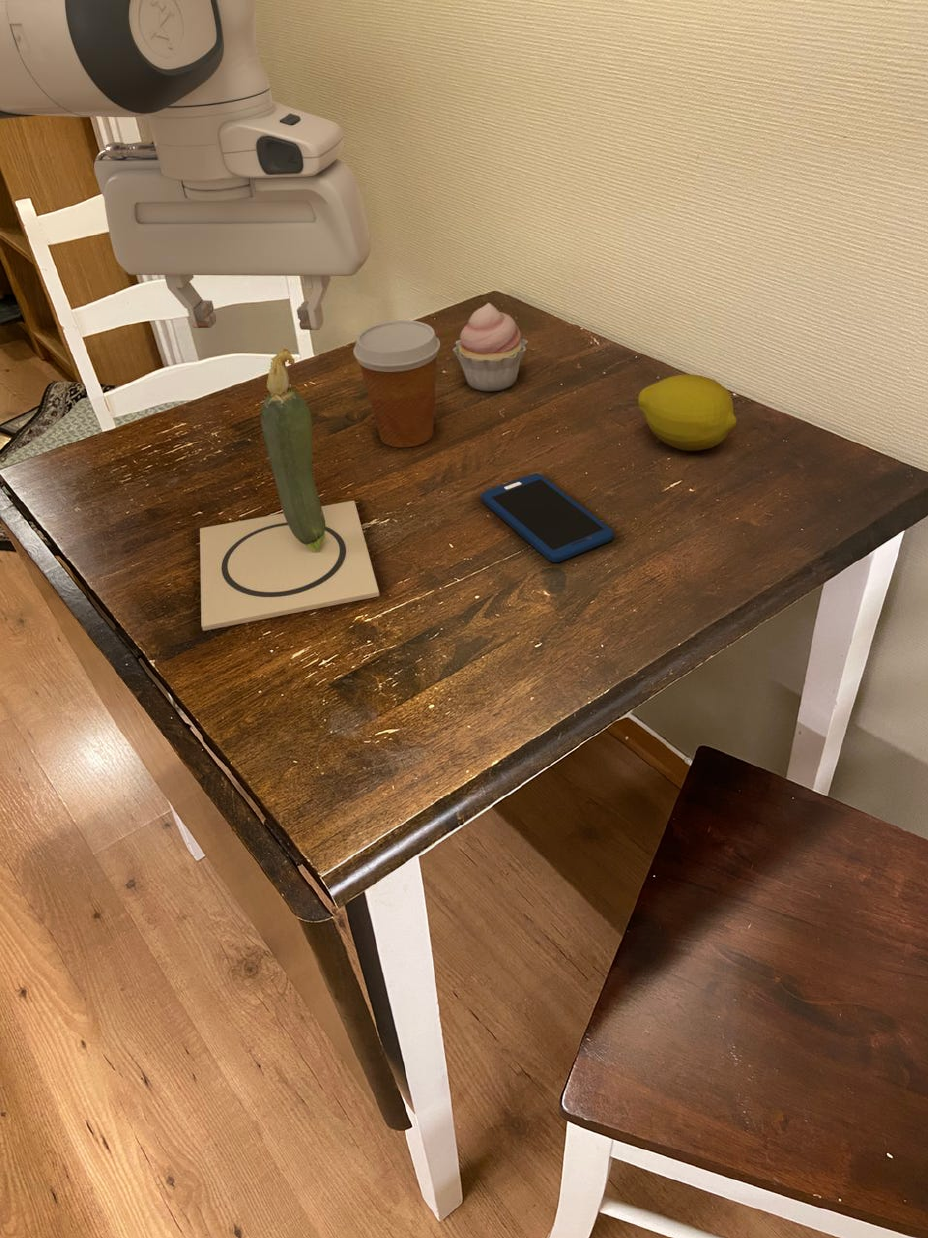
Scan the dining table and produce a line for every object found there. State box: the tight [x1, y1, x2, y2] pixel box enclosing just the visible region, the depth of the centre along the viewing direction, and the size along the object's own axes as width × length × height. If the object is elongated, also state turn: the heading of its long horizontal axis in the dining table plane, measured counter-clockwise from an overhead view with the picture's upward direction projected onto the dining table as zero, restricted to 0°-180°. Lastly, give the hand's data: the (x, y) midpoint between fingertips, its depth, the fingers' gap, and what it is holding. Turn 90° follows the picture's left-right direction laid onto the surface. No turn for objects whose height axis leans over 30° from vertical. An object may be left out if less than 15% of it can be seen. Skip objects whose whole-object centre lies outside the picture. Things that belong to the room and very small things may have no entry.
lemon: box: [637, 374, 738, 452], centre depth 95 cm, size 11×8×8 cm
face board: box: [199, 500, 380, 632], centre depth 85 cm, size 16×16×1 cm
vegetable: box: [260, 348, 326, 552], centre depth 80 cm, size 4×4×20 cm
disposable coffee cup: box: [352, 319, 441, 448], centre depth 100 cm, size 10×10×12 cm
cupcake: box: [452, 302, 529, 392], centre depth 109 cm, size 9×9×10 cm
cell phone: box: [480, 473, 615, 563], centre depth 88 cm, size 7×14×1 cm, turn 30°
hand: (258, 326), depth 73 cm, fingers open, 8 cm apart
